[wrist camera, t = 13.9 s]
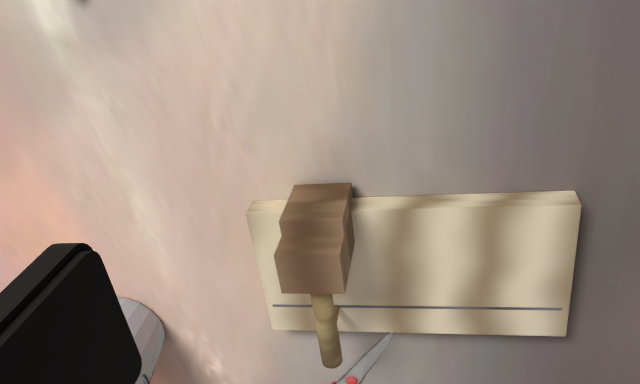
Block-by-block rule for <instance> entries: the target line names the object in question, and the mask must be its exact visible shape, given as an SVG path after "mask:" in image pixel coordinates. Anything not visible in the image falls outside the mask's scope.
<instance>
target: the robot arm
mask: <svg viewBox="0 0 640 384" xmlns="http://www.w3.org/2000/svg"><path fill="white" fill-rule="evenodd" d="M141 368H142V359H141V355H140V353H139V350H138V348H137V345H136V343H135V340H134V338H133V335H132V333H131V331H130V328H129V326H128V323H127V321H126V318H125V316H124V313H123V311H122V308H121V306H120V303H119V301H118V298H117V296H116V294H115V291H114V289H113V286H112V284H111V281H110V279H109V276H108V274H107V271H106V269H105V266H104V264H103V261H102V259H101V257H100V255H99V254H98V253H97V252H95V251H93V250H92V248H91V247H90V246H89V245H88V244H84V243H59V244H53V245H51V246H50V247H48V248H47V249H46V250H45V251H44V252H43V253H42V254H41V255H40V256H38V257H37V258H36V259H35V260H34V261H33V262H32V263H31V264H30V265H29V266H28V267H27V268H26V269H25V270H24V271H23V272H22V273H21V274H20V275H19V276H18V277H16V278H15V279H14V280H13V281H12V282H11V283H10V284H9V285H8V286H7V287H6V288H5V289H4V290H3V291H2V292H1V293H0V384H135V383H136V381H137V379H138V378H139V375H140V373H141Z"/></svg>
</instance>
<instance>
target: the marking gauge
mask: <svg viewBox="0 0 640 384" xmlns="http://www.w3.org/2000/svg"><path fill="white" fill-rule="evenodd" d="M352 198H353V193H352V185H351V183H332V184H306V185H294V187H293V190H292V192H291V194H290V197H289V199H288V201H287V203H286V206H285V208H284V210H283V213H282V215H281V217H280V219H279V226H280V230H281V235H282V236H281V239H280V241H279V244H278V246H277V248H276V251H275V253H274V260H275V265H276V269H277V274H278V279H279V283H280V288H281V293H282V294H310V297H311V303H312V308H313V314H314V319H315V325H316V330H317V336H318V341H319V347H320V352H321V358H322V363H323V365H324V366H325V367H327V368H336V367H338V366H340V365H341V363H342V353H341V347H340V340H339V334H338V327H337V320H338V315H339V310H340V308H339V307H338V306H334V302H333V295H332V294H345V291H346V286H347V281H348V276H349V271H350V266H351V260H352V255H353V250H354V245H355V239H354V231H353V223H352V214H351V203H352Z"/></svg>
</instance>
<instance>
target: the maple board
mask: <svg viewBox="0 0 640 384" xmlns="http://www.w3.org/2000/svg"><path fill="white" fill-rule="evenodd" d="M287 201H288V200H263V201H253V202H252V203H251V205H250V207H249V209H248V211H247V213H246V217H247V221H248V226H249V230H250V234H251V238H252V243H253V247H254V251H255V255H256V260H257V264H258V268H259V273H260V277H261V281H262V285H263V290H264V294H265V298H266V303H267V307H268V311H269V315H270V320H271V324H272V328H273V330H303V331H317V330H316V325H315V319H314V314H313V308H312V303H311V297H310V294H282V293H281V288H280V283H279V279H278V274H277V269H276V265H275V260H274V253H275V251H276V248H277V246H278V244H279V241H280V239H281V236H282V235H281V230H280V226H279V219H280V217H281V215H282V213H283V210H284V208H285V206H286V203H287ZM580 213H581V203H580V201H579V199H578V197H577V195H576V193H575V191H548V192H516V193H484V194H453V195H421V196H390V197H358V198H352V203H351V214H352V223H353V231H354V239H355V245H354V250H353V255H352V260H351V266H350V271H349V276H348V281H347V286H346V291H345V294H332V295H333V302H334V306H338V307H339V308H340V310H339V315H338V320H337V327H338V331H348V332H392V333H437V334H481V335H526V336H566V331H567V322H568V314H569V306H570V297H571V289H572V280H573V272H574V264H575V255H576V247H577V239H578V230H579V222H580Z"/></svg>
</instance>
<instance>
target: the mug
mask: <svg viewBox="0 0 640 384" xmlns="http://www.w3.org/2000/svg"><path fill="white" fill-rule="evenodd" d="M117 298H118V301H119V303H120V306H121V308H122V311H123V313H124V316H125V318H126V321H127V323H128V326H129V328H130V331H131V333H132V335H133V338H134V340H135V343H136V345H137V348H138V350H139V353H140V355H141V359H142V368H141V373H140V375H139V378H138V379H137V381H136V383H135V384H149V383H150V381H151V378H152V375H153V372H154V369H155V367H156V364H157V361H158V358H159V355H160V353H161V350H162V347H163V344H164V340H165V333H164V327H163V325H162V323H161V322H160V320H159V318H158V317H157V316H156V315H155V314H154V313H153V312H152V311H151V310H150V309H149V308H147V307H146V306H144V305H143V304H141V303H139V302H136V301H134V300H131V299H128V298H121V297H117Z"/></svg>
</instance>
